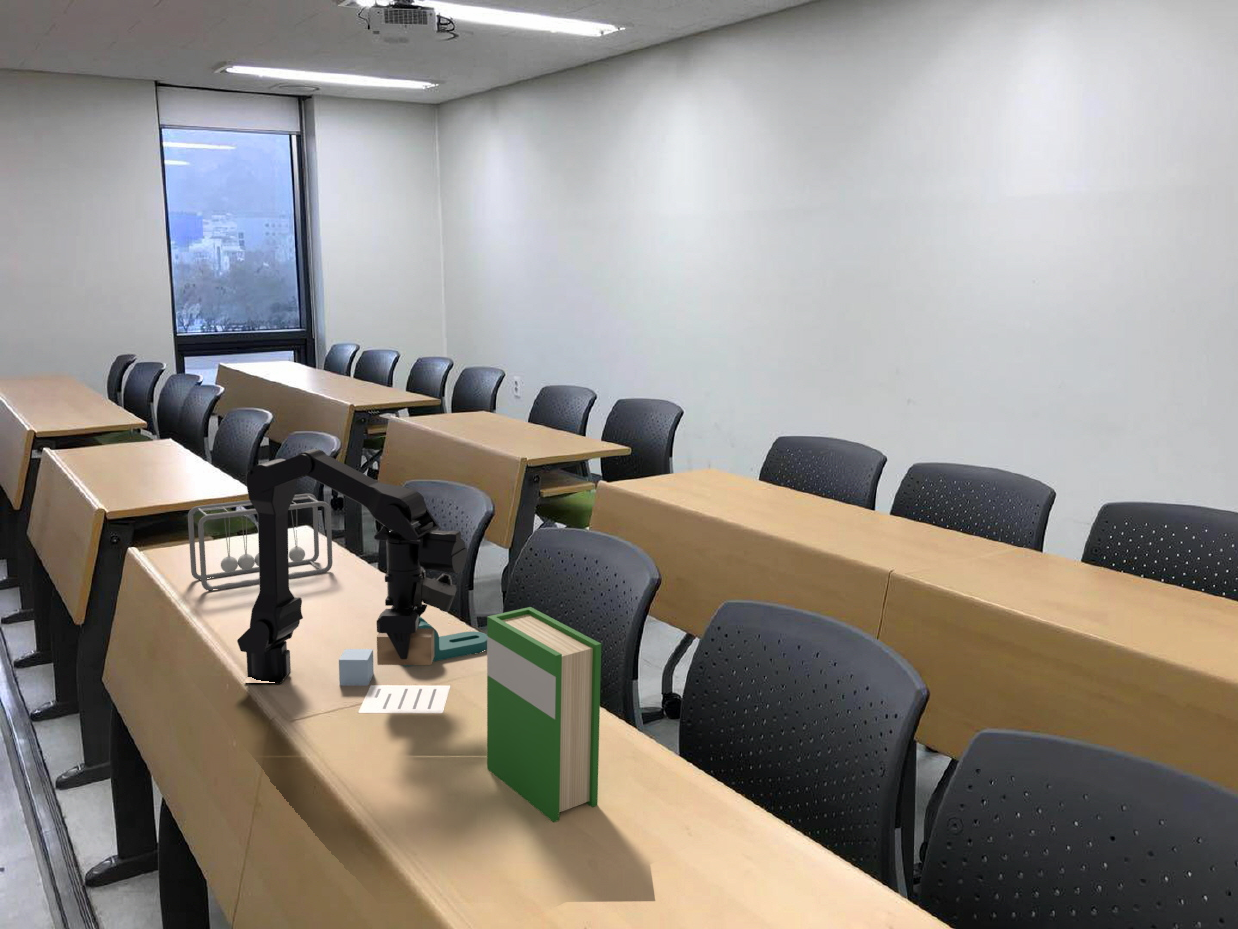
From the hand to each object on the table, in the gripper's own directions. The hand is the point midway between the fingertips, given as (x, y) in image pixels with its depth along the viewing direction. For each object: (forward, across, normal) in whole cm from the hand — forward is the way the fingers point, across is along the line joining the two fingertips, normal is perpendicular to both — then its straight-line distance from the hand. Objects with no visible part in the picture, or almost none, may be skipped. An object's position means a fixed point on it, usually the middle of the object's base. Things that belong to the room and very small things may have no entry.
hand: (406, 654), depth 168 cm
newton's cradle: (+9, +67, +44) cm, 81 cm away
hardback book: (+9, -29, -24) cm, 38 cm away
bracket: (+9, +21, -4) cm, 23 cm away
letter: (+8, 0, 0) cm, 8 cm away
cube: (+8, +8, +10) cm, 15 cm away
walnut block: (+1, 0, 0) cm, 1 cm away
